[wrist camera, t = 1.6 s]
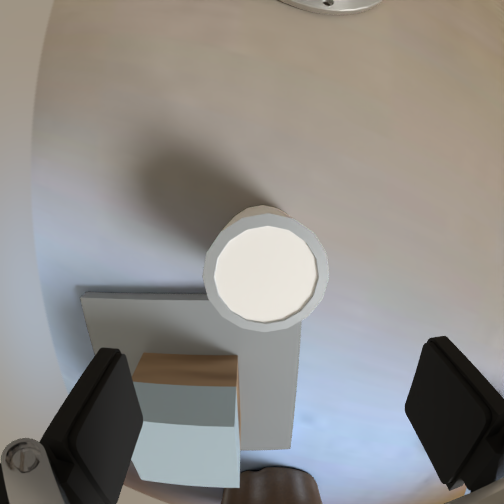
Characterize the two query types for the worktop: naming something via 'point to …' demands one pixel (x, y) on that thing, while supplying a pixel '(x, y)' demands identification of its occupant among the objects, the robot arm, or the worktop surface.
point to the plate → (206, 352)
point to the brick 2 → (188, 435)
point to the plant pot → (274, 488)
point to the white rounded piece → (265, 270)
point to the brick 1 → (190, 371)
